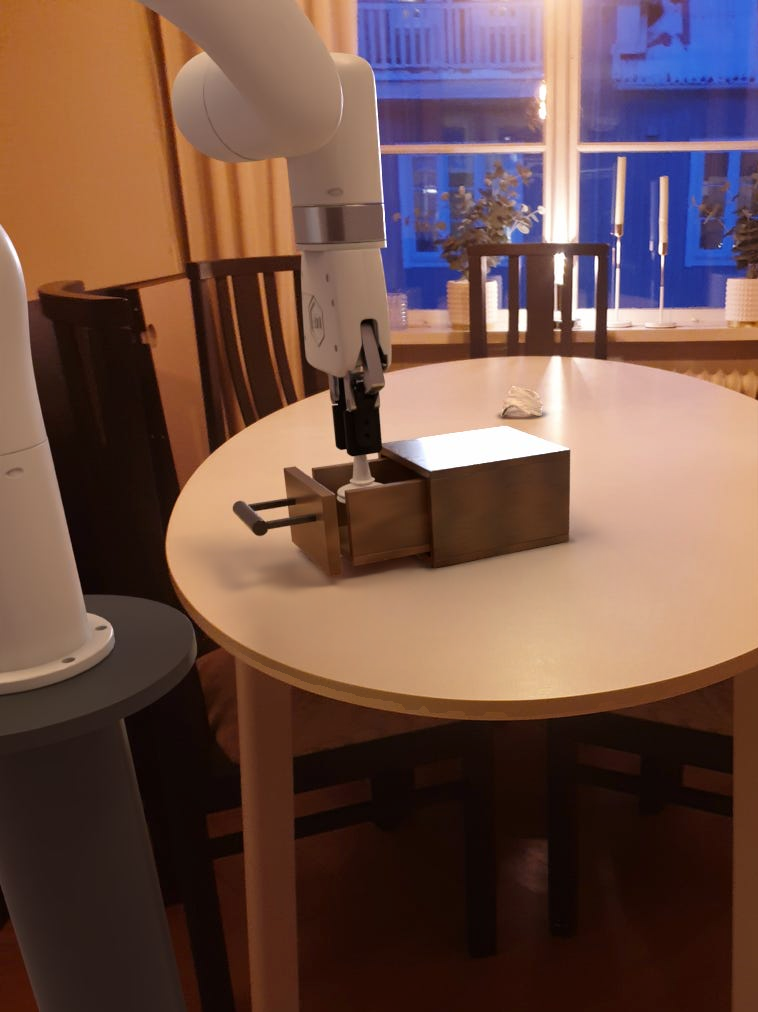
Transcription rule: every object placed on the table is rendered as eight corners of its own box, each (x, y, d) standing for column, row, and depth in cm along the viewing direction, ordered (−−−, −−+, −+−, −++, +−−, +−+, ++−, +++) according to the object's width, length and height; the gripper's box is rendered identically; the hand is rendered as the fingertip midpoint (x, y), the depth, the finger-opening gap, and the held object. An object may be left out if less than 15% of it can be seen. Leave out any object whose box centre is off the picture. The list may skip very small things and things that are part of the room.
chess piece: (384, 487, 89) (376, 381, 85) (395, 501, 85) (387, 390, 81) (333, 493, 88) (322, 385, 84) (341, 507, 84) (330, 394, 80)
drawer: (266, 589, 79) (255, 507, 76) (233, 551, 89) (222, 476, 86) (467, 550, 87) (464, 473, 84) (418, 519, 97) (414, 449, 93)
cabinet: (434, 568, 86) (429, 471, 82) (383, 531, 96) (376, 443, 92) (569, 541, 92) (570, 449, 88) (507, 509, 102) (506, 425, 98)
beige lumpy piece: (504, 415, 152) (501, 385, 151) (545, 411, 151) (542, 380, 150) (499, 422, 145) (496, 390, 143) (542, 418, 144) (539, 385, 142)
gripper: (269, 231, 82) (293, 439, 90) (328, 233, 69) (350, 476, 77) (349, 228, 85) (366, 429, 93) (420, 228, 72) (433, 463, 80)
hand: (358, 449), depth 85 cm, fingers closed on chess piece
